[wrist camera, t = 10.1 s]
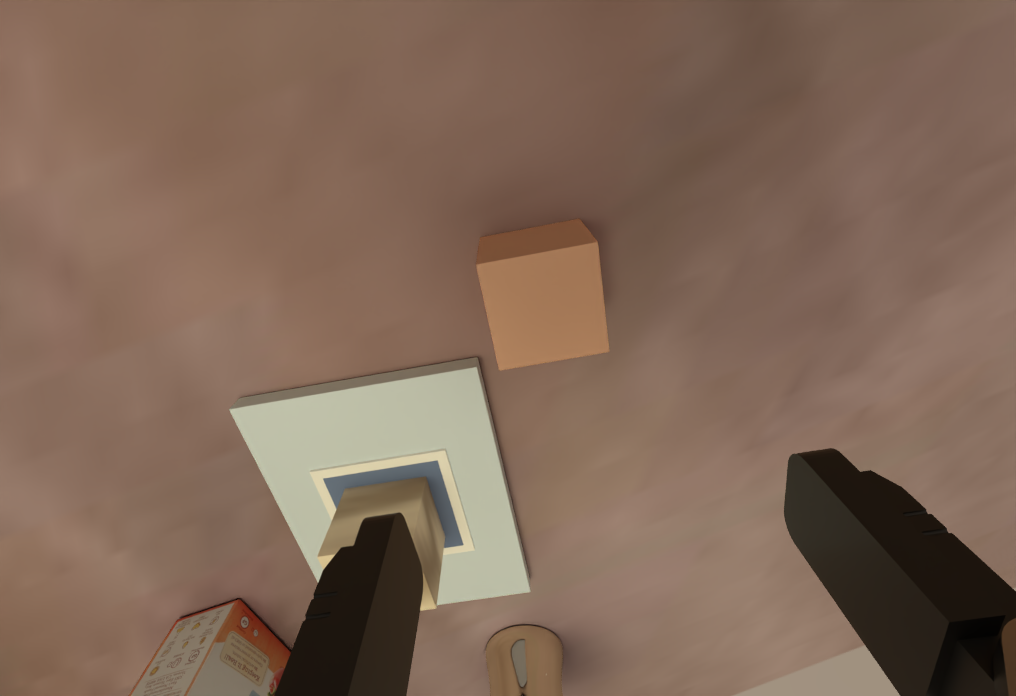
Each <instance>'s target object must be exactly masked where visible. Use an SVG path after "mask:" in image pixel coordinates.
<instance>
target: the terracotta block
mask: <svg viewBox="0 0 1016 696" xmlns="http://www.w3.org/2000/svg"><path fill="white" fill-rule="evenodd" d="M476 267H477V272H478V276H479V281H480V285H481V290H482V294H483V299H484V304H485V308H486V313H487V317H488V322H489V326H490V331H491V336H492V340H493V345H494V349H495V354H496V358H497V363H498V368H499V371H500V370H506V369H512V368H518V367H524V366H529V365H535V364H541V363H547V362H553V361H559V360H564V359H570V358H576V357H582V356H588V355H594V354H599V353H605V352H609V344H608V334H607V325H606V315H605V305H604V296H603V286H602V277H601V267H600V257H599V248H598V242H597V240H596V239H595V238H594V236H593V235H592V234H591V233H590V231H589V230H588V229H587V228H586V226H585V225H584V224H583V223H582V221H581V220H580V219H574V220H569V221H564V222H559V223H553V224H548V225H543V226H538V227H532V228H527V229H522V230H516V231H511V232H506V233H501V234H495V235H490V236H485V237H480V241H479V248H478V255H477V261H476Z"/></svg>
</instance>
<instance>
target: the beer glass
mask: <svg viewBox="0 0 1016 696" xmlns="http://www.w3.org/2000/svg"><path fill="white" fill-rule="evenodd" d="M486 663H487V669H488V676H489V683H490V696H563V693H562V666H563V647H562V644H561V641H560V640H559V638H558V637H557V636H556V635H555V634H554V633H552V632H551V631H549V630H547V629H545V628H542V627H538V626H532V625H519V626H513V627H509V628H506V629H504V630H502V631H500V632H498V633H497V634H495V635H494V636H493V637H492V638H491V639H490V640H489V642H488V644H487V647H486Z"/></svg>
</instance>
